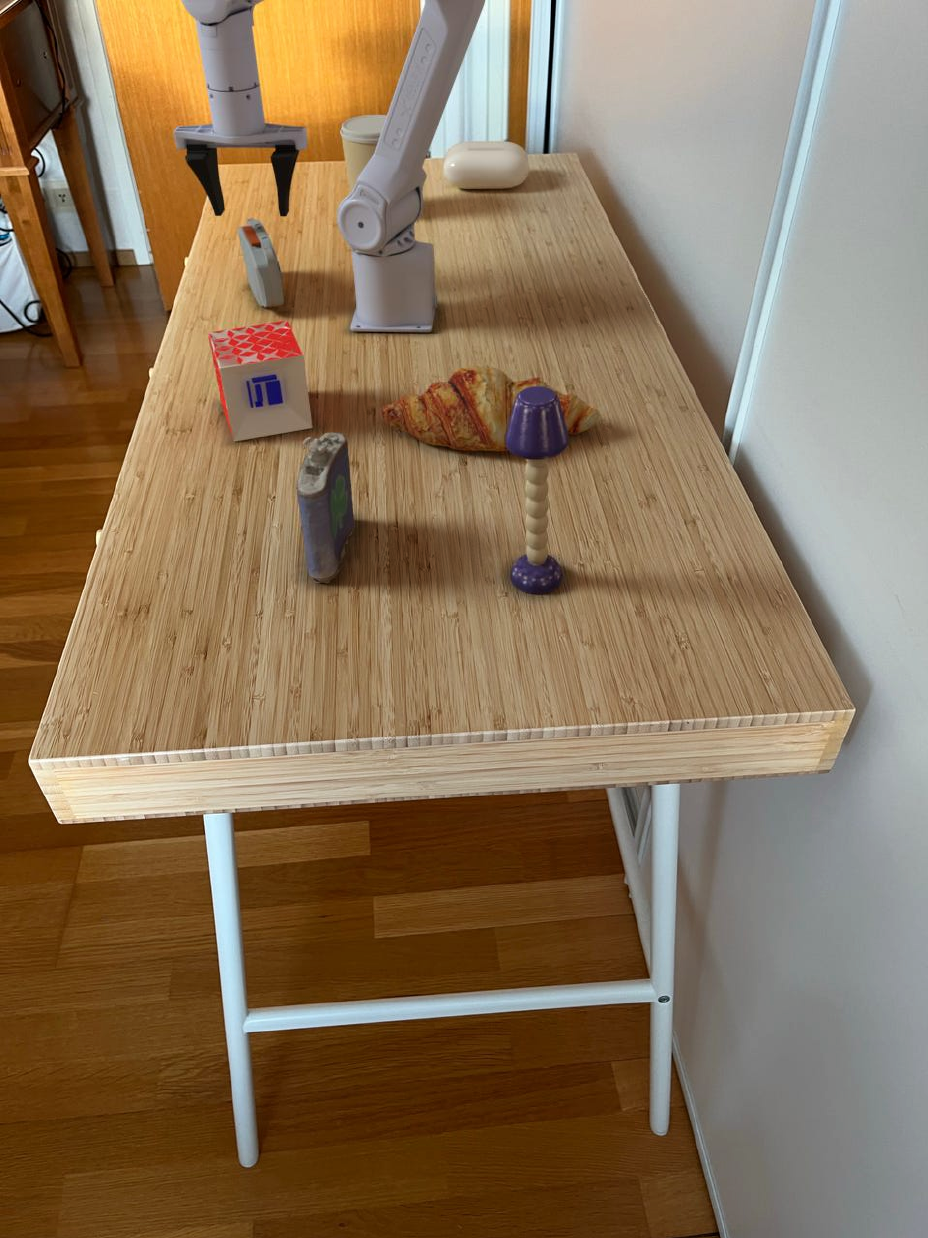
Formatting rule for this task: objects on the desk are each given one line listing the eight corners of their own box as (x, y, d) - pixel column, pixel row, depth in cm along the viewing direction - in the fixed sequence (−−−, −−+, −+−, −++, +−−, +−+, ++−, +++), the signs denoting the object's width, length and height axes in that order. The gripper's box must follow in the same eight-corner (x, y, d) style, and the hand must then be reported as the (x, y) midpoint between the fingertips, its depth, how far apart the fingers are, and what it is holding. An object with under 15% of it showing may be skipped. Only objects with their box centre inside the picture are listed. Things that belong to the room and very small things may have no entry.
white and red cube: (297, 391, 104) (287, 320, 99) (312, 427, 99) (303, 354, 93) (221, 404, 102) (207, 332, 97) (232, 442, 97) (218, 368, 92)
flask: (334, 585, 80) (319, 474, 73) (299, 583, 81) (281, 471, 73) (359, 519, 87) (348, 411, 80) (327, 517, 87) (313, 409, 80)
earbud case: (444, 172, 157) (443, 136, 153) (526, 172, 156) (527, 135, 153) (442, 194, 149) (441, 156, 145) (529, 194, 149) (530, 156, 145)
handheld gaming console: (288, 317, 118) (279, 250, 112) (264, 321, 117) (254, 254, 112) (265, 271, 128) (255, 208, 123) (242, 275, 127) (232, 211, 122)
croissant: (590, 445, 102) (592, 365, 100) (607, 453, 92) (610, 364, 90) (385, 447, 101) (383, 366, 99) (379, 454, 92) (377, 365, 90)
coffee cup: (410, 224, 140) (405, 133, 132) (344, 224, 140) (336, 133, 132) (413, 201, 147) (409, 113, 139) (350, 201, 147) (343, 113, 139)
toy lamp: (518, 601, 78) (523, 416, 67) (493, 568, 82) (495, 386, 71) (571, 585, 80) (585, 401, 69) (545, 553, 83) (554, 372, 72)
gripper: (306, 75, 109) (319, 201, 119) (176, 75, 110) (199, 200, 119) (294, 92, 104) (309, 223, 113) (159, 92, 105) (184, 221, 114)
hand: (252, 213), depth 116 cm, fingers open, 7 cm apart
